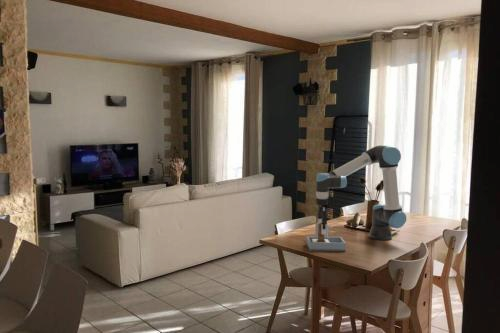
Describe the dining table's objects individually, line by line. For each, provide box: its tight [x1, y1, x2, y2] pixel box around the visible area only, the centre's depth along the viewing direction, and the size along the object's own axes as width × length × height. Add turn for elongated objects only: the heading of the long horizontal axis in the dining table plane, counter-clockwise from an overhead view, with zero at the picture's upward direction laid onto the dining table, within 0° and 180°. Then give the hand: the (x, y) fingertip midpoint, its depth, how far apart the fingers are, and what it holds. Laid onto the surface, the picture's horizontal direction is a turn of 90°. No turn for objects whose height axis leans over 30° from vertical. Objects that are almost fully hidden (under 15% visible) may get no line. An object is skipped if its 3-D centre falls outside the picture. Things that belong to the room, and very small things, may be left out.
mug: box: [314, 221, 332, 237], centre depth 272 cm, size 12×8×11 cm
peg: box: [318, 223, 324, 242], centre depth 251 cm, size 4×4×14 cm
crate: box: [306, 236, 347, 252], centre depth 252 cm, size 22×14×5 cm, turn 89°
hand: (321, 231), depth 251 cm, fingers open, 13 cm apart
